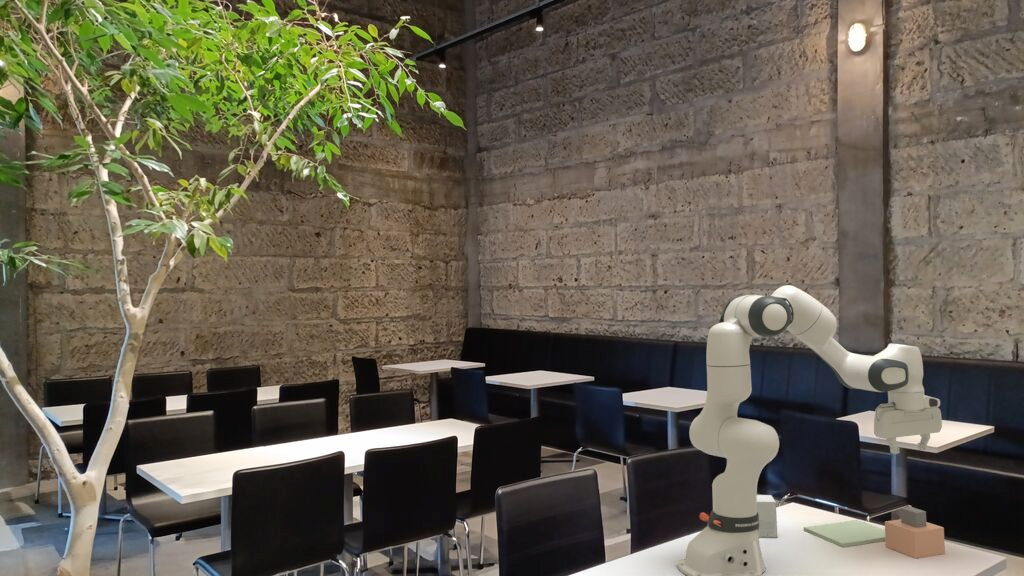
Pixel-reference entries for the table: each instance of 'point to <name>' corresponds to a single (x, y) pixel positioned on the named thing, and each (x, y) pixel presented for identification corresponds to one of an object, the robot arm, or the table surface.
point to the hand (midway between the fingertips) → (908, 451)
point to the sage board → (848, 533)
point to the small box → (767, 516)
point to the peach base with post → (914, 534)
